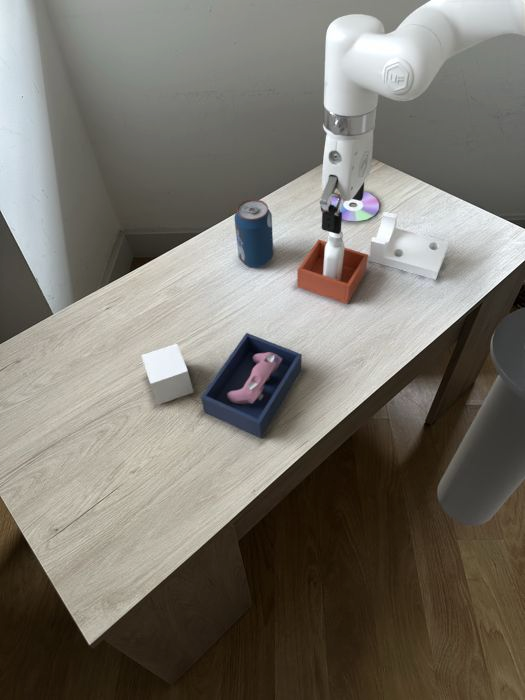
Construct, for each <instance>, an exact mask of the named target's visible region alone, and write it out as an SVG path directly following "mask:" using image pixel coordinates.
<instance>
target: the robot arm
mask: <svg viewBox="0 0 525 700" xmlns="http://www.w3.org/2000/svg"><path fill="white" fill-rule="evenodd" d="M508 34H515V35H519V36H523V37H525V0H428V1H427V2H425V3H424V4H423V5H421V6H419V7H418V8H417V9H415V10H414V11H412V12H411V13H410V14H409V15H408V16H407V17H405V19H404V20H403V21H402V22H401V23H400V24H399V25H398V27H397V28H396V29H395V30H393V31H390V32H389V33H386V32H385V27H384V24H383V23H382V21H381V20H380V19H378V17H375V16H373V15H368V14H361V13H354V14H353V13H352V14H346V15H344V16H340V17H337V18H336V19H334V20H333V21H332V22H331V23H330V24H329V26H328V27H327V30H326V34H325V51H324V52H325V54H324V80H323V81H324V82H323V83H324V84H323V85H324V88H323V116H322V118H323V119H322V128H323V130H324V132H325V133H326V135H325V143H324V149H323V159H322V160H323V161H322V171H321V173H322V174H321V175H322V176H321V190H322V194H321V197H320V199H319V205H320V211H321V214H322V215H321V229H322V230H323V231H325V232H328V233H329V232H332V233H336V234H339V233H340V232H341V231H342V221H343V219H342V212H340V210H341V207H342V203H343V200H346V201H349V200H351V199H354V200H358V201H361V200H362V199H363V192H365V182H366V180H367V178H368V177H369V176H370V173H371V171H372V165H373V164H372V163H373V151H374V149H373V148H374V130H375V128H376V122H377V121H376V120H377V112H378V101H379V96H381V97H384V98H387V99H388V100H392V101H397V102H409V101H412V100H415V99H416V98H418V97H421V95H422V94H424V93H425V92H426V90H428V88H429V87H430V85H431V83H432V82H433V81H434V80H435V77H436V76H437V74H438V72H439V71H440V70H441V68H442V67H443V65H444V64H445V62H446V61H447V60H449V59H451V58H452V57H454V56H456V55H458V54H460V53H462V52H464V51H466V50H468V49H470V48H472V47H474V46H477V45H479V44H480V43H482V42H485V41H487V40H490V39H492V38H495V37H498V36H503V35H508ZM336 190H338V192H339V193H340V194H336V193H337V192H335V191H336ZM332 197H334V198H338V202H337V205H336V207H335V206H334V205H331V199H332Z"/></svg>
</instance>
